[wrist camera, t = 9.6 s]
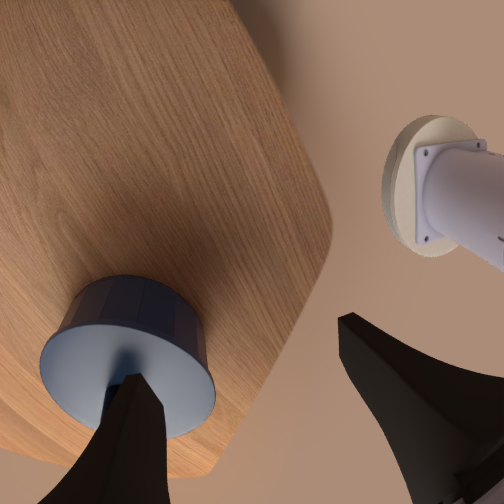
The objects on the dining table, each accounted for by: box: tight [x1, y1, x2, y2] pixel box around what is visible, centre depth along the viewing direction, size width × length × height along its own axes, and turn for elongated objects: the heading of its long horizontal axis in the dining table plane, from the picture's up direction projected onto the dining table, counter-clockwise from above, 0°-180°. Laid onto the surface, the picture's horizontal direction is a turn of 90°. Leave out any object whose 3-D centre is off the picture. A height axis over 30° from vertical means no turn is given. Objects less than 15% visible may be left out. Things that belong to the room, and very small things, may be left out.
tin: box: [58, 275, 208, 368], centre depth 18 cm, size 11×11×5 cm
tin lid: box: [40, 319, 216, 439], centre depth 14 cm, size 11×11×5 cm
